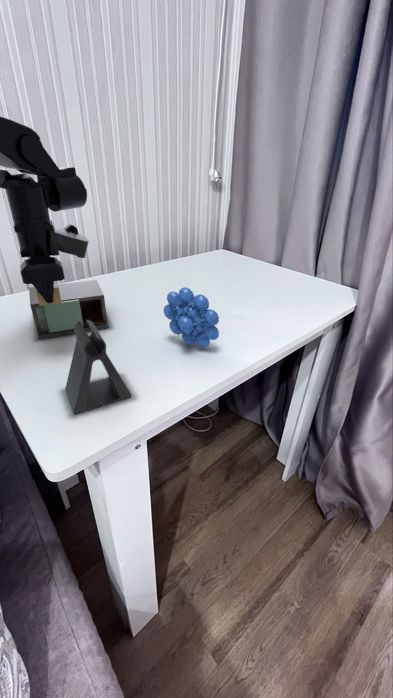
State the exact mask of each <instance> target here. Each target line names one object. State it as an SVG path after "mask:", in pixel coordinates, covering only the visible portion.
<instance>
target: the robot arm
mask: <svg viewBox="0 0 393 698" xmlns="http://www.w3.org/2000/svg"><path fill="white" fill-rule="evenodd" d="M0 167H2V168H6V169H11V170H16V171H17V172H19V173H13V174H12V173H10V172H9V170H6V169H0V189H4V190H5V194H6V197H7V202H8V207H9V210H10V214H11V218H12V223H13V230H14V233H15V234H16V237H17V241H18V246H19V253H20V258H22V259H23V258H26V259H24V260H23V262H22V263H21V264H20V267H19V269H20V276H21V279H22V284H23V285H32V287H35V288H36V290H37V291H38V292H39V293H40V295H41V296H42V297H43V298H44V300H45V301H46V302H47V303H53V292H54V285H55V282H60V281H64V280H65V273H64V267H63V264H62V262H61V260H59V258H57V256H60V252H61V253H64V254H68V255H72V256H76V257H77V258H79V259H85V258H86V254H87V250H88V246H89V242H90V241H89V239H88V237H87V236H85V235H84V234H83V233H79V229H78V227H77V225H74V224H71V223H67V224H66V225H65V227H64V228H62V227H60V228H57V227H55V226H54V225H55V224H54V223H53V220H52V219H51V217H50V211H52V212H61V211H62V212H63V211H66V210H72V209H78V208H82V207H84V206H85V205H86V203H87V201H88V191H87V188H86V186H85V184H84V181H83V180H82V179H81V178H80V177H79V176H78V175H77V172H76V171H77V169H76V167H74V166H61V167H58V165H57V163H56V162H55V161H54V160H53V158H52V157H51V156H50V154H49V153H48V151H47V150H46V149H45V147H44V145H43V143H42V139H41V136H40V135H39V133H37V132H36V131H35V130H34V129H33V128H31V127H29V126H27V125H25V124H22V123H19V122H17V121H14V120H12V119H9V118H6V117H3V116H0ZM31 175H32V176H36V178H35V179H34V178H33V177H32V176H31ZM49 210H50V211H49Z"/></svg>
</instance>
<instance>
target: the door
mask: <svg viewBox="0 0 393 698" xmlns="http://www.w3.org/2000/svg"><path fill="white" fill-rule="evenodd" d="M36 294H37V298H38V302H39V306H44V310H45V314H46V319H47V323H48V327H49V332H50V333H52V332H58V331H64V330H70V329H74V327H75V325H76V323H77V322H79V321H80V322H81V324H82V325H83V320H82V314H81V308H80V302H79V299H78V300H70V301H63V302H61V297H60V292H59V287H58V286H55V287H54V292H53V303H47V302H46V301H45V300H44V298H43V297H42V296H41V295H40V293H39V292H38V291H37V290H36ZM83 327H84V326H83Z"/></svg>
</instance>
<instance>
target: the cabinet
mask: <svg viewBox="0 0 393 698" xmlns="http://www.w3.org/2000/svg"><path fill="white" fill-rule="evenodd" d="M55 286H58V287H59V292H60V297H61V302H63V301H70V300H78V299H79V302H80V308H81V314H82V320H83V326H84V329H85V331H86V333H88V332H92V331H91V329H90V327H89V326H88V324H87V322H86V320H90V321H92V322H93V324H94V325H95V327H96V329H97V330H98V331H99V330H105V329H110V325H109V322H108V316H107V309H106V308H107V307H106V299H105V294H104V291H103V290H102V289H101V286H100V284H99V283H98V280H97V279H93V280H92V279H91V280H84V281H75V282H66V283H58V284H54V287H55ZM28 294H29V306H30V309H31V314H32V317H33V321H34V325H35V326H34V327H35V330H36V334H37V339H38V340H44V339H50V338H56V337H62V336H68V335H76V334H75V332H74V329H70V330H64V331H58V332H52V333H50V332H49V327H48V323H47V319H46V314H45V310H44V306H39V302H38V298H37V294H36V288H35V287H34V286H30V287H28Z"/></svg>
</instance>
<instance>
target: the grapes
mask: <svg viewBox="0 0 393 698" xmlns="http://www.w3.org/2000/svg"><path fill="white" fill-rule="evenodd" d="M166 300H167V304H166V305H165V306H164V307H163V311H162V312H163V314H164V316H165V318H167V319H168V320H170V322H169V329H170V331H171V333H173V334H174V335H177V336H179V335H181V339H182V342H183V343H184V344H185V345H187V346H194V345H195V344H197V346H199V347H200V348H208V347H209V346H210V344H211V341H216V340H217V339H218V338H219V337H220V331H219V329H218V327H217V326H216V325H218V324H219V322H220V317H219V314H218V313H217V311H215V310H214V309H211V308H210V302H209V299H208V298H207V296H205V295H204V294H201V293H200V294H196V295H195V294H194V292H193V290H191V288H189V287H186V286H184V287H181V288H180V289H179V290H178V292H176V291H170V292H168V294H167V295H166Z"/></svg>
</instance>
